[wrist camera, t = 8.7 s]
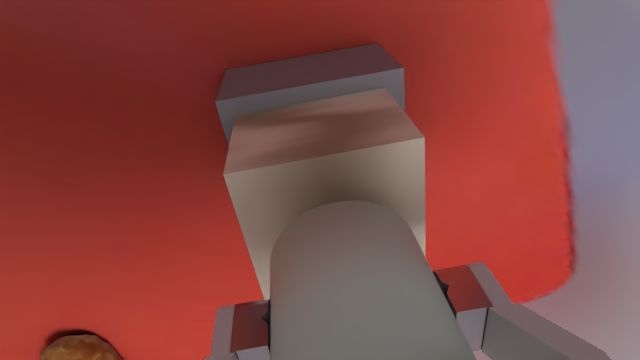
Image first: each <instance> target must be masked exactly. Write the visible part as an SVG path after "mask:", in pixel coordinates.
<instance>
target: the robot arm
mask: <svg viewBox="0 0 640 360" xmlns="http://www.w3.org/2000/svg"><path fill="white" fill-rule="evenodd" d="M433 274H434V276H435V278H436V280H437V282H438V284H439V286H440V288H441V290H442V292H443V294H444V296H445V298H446V300H447V302H448V304H449V306H450V308H451V310H452V312H453V314H454V316H455V318H456V320H457V322H458V324H459V326H460V328H461V330H462V332H463V334H464V336H465V338H466V340H467V342H468V344H469V346H470V348H471V350H472V351H477V350H482V352H483V353H485V354H486V355H487V356H488V357H489V358H491V359H492V360H611V359H610V358H609V356H608V355H607V354H606V353H605V352H604V351H602V350H601V349H599V348H597V347H595V346H594V345H592V344H590V343H588V342H586V341H585V340H583V339H581V338H579V337H578V336H576V335H574V334H572V333H570V332H569V331H567V330H565V329H563V328H562V327H560V326H558V325H556V324H554V323H553V322H551V321H549V320H547V319H546V318H544V317H542V316H540V315H538V314H537V313H535V312H533V311H531V310H529V309H528V308H526V307H524V306H523V305H521V304H519V303H512V302H511V300H510V299H509V297H508V296H507V294H506V293H505V292H504V290H503V289H502V287H501V286H500V284H499V283H498V281H497V280H496V278H495V277H494V275H493V274H492V273H491V271H490V270H489V268H488V267H487V265H486V264H485V263H483V262H478V263H473V264H467V265H461V266H455V267H450V268H444V269H439V270H433ZM203 360H270V300H269V299H267V300H260V301H253V302H246V303H240V304H234V305H228V306H221V307H219V308H218V310H217V312H216V319H215V326H214V332H213V339H212V346H211V352H210V357H205V358H204V359H203Z"/></svg>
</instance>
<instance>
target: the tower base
mask: <svg viewBox="0 0 640 360" xmlns="http://www.w3.org/2000/svg"><path fill="white" fill-rule="evenodd" d="M381 88H386V89H387V90H388V92H389V93H390V94H391V95H392V97H393V98H394V99H395V100H396V102H397V103H398V104H399V106H400V107H401V108H402V109H403V111H404V112H405V88H404V67H403V66H401V65H400V64H399V63H398V62H397V61H396V60H395V59H394V58H393V57H392V56H391V55H390V54H389V53H388V52H386V51H385V50H384V49H383V48H382V47H381V46H380V45H379V44H378V43H373V44H367V45H362V46H356V47H351V48H345V49H339V50H334V51H328V52H322V53H317V54H311V55H305V56H300V57H294V58H288V59H283V60H277V61H272V62H266V63H260V64H255V65H249V66H243V67H238V68H232V69H226V72H225V74H224V77H223V80H222V83H221V86H220V89H219V91H218V94H217V97H216V100H215V104H216V107H217V110H218V113H219V117H220V120H221V123H222V126H223V130H224V133H225V136H226V140H227V143H228V146H229V144H230V139H231V134H232V129H233V124H234V120H235V115H239V114H244V113H250V112H255V111H261V110H266V109H271V108H277V107H282V106H288V105H293V104H299V103H304V102H310V101H315V100H321V99H326V98H332V97H337V96H343V95H348V94H354V93H359V92H364V91H370V90H375V89H381Z"/></svg>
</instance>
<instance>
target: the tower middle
mask: <svg viewBox="0 0 640 360" xmlns="http://www.w3.org/2000/svg"><path fill="white" fill-rule="evenodd" d="M223 176H224V179H225V182H226V185H227V188H228V191H229V194H230V197H231V200H232V203H233V206H234V209H235V212H236V215H237V218H238V221H239V224H240V227H241V230H242V233H243V236H244V239H245V242H246V245H247V248H248V251H249V254H250V257H251V260H252V263H253V266H254V269H255V272H256V275H257V278H258V281H259V284H260V287H261V290H262V293H263V296H264V299H265V300H267V299H269V300H270V257H271V252H272V249H273V246H274V244H275V242H276V240H277V238H278V237H279V235H280V234H281V233H282V231H283V230H284V229H285V228H286V227H287V226H288V225H289V224H290V223H291V222H292V221H294V220H295V219H296V218H298V217H299V216H301V215H302V214H304V213H306V212H307V211H310V210H312V209H314V208H316V207H319V206H322V205H325V204H329V203H333V202H339V201H367V202H372V203H376V204H379V205H382V206H385V207H387V208H389V209H391V210H393V211H394V212H396V213H397V214H398V215H400V216H401V217H402V218H403V219H404V220H405V221H406V222H407V223H408V225H409V226H410V228H411V229H412V231H413V233H414V235H415V237H416V239H417V241H418V243H419V245H420V247H421V249H422V251H423V253H424V255H425V137H424V136H423V134H422V133H421V132H420V131H419V129H418V128H417V127H416V126H415V124H414V123H413V122H412V121H411V119H410V118H409V117H408V116H407V114H406V113H405V112H404V111H403V109H402V108H401V107H400V106H399V104H398V103H397V102H396V100H395V99H394V98H393V97H392V95H391V94H390V93H389V92H388V90H387V89H386V88H381V89H375V90H370V91H364V92H359V93H354V94H348V95H343V96H337V97H332V98H326V99H321V100H315V101H310V102H304V103H299V104H293V105H288V106H282V107H277V108H271V109H266V110H261V111H255V112H250V113H244V114H239V115H235V120H234V124H233V129H232V134H231V139H230V144H229V149H228V153H227V158H226V163H225V168H224V173H223Z"/></svg>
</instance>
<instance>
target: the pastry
mask: <svg viewBox="0 0 640 360" xmlns="http://www.w3.org/2000/svg"><path fill="white" fill-rule="evenodd" d="M40 360H122V359H121V357H120V356H119V355H118V354H117V352H116V351H115V350H114V348H113V347H112V346H111V345H110V344H109V343H106V342H104V341H103V340H101V339H100V338H99V337H98V336H96V335H88V334H85V335H71V336H65V337H61V338H59V339H57V340H56V341H54V342H53V343H52V344H51V345H49V346H48V347H47V348H45V349H44V350H43V351H42V352H41V356H40Z"/></svg>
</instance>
